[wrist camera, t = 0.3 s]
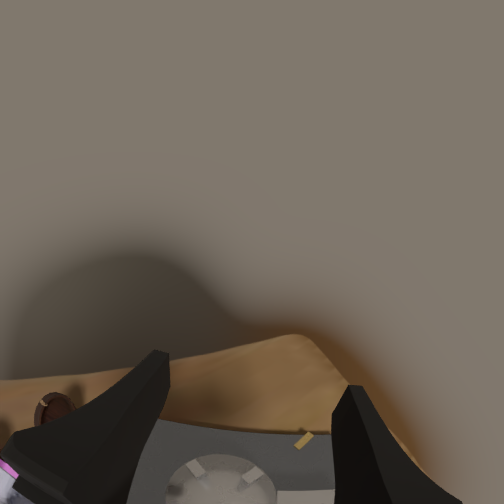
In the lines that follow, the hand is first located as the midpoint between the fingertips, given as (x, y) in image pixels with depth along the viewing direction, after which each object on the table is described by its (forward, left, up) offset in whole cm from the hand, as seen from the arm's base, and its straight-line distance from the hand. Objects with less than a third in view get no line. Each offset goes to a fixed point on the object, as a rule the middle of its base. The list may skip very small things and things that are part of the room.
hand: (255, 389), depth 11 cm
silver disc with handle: (-1, -1, -19) cm, 19 cm away
